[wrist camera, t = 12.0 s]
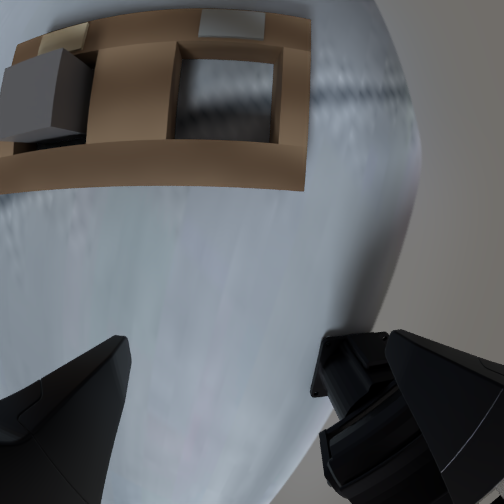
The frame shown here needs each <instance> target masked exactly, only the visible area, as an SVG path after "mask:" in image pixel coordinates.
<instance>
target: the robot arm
mask: <svg viewBox="0 0 504 504" xmlns="http://www.w3.org/2000/svg"><path fill="white" fill-rule="evenodd" d="M383 337H384V338H383ZM329 342H330V343H329ZM327 343H329V344H328V345H326V344H327ZM130 369H131V353H130V348H129V342H128V339H127V337H126V336H119V335H114V336H112V337H111V338H109V339H107V340H106V341H104V342H102V343H101V344H99V345H97V346H96V347H94V348H92V349H90V350H89V351H87V352H85V353H84V354H82V355H80V356H79V357H77V358H75V359H73V360H72V361H70V362H68V363H67V364H65V365H63V366H62V367H60V368H58V369H57V370H55V371H53V372H51V373H50V374H48V375H46V376H45V377H43V378H41V380H38V381H36V382H34V383H33V384H31V385H29V386H27V387H26V388H24V389H22V390H20V391H18V392H16V393H14V394H12V395H10V396H8V397H6V398H4V399H2V400H0V504H101V499H102V494H103V489H104V484H105V479H106V475H107V470H108V466H109V461H110V457H111V453H112V449H113V445H114V441H115V437H116V433H117V429H118V426H119V422H120V418H121V415H122V411H123V407H124V403H125V398H126V392H127V386H128V380H129V374H130ZM315 392H316V393H315ZM310 394H311V396H312V397H314V398H316V397H323V396H328V397H329V399H330V401H331V403H332V405H333V407H334V409H335V411H336V414H337V416H338V418H339V420H340V421H339V422H337V423H336V424H334V425H333V426H332V427H330V428H328V429H327V430H326V429H325V430H323V431H322V432H320V433H319V437H320V447H321V454H322V461H323V468H324V476H325V478H326V479H327V483H328V485H329V486H330V487H333V488H334V490H335V491H336V492H337V493H338V494H339V495H341V496H342V497H344V498H347V499H348V500H349V501H350V502H351V503H352V504H479V502H480V501H482V500H483V499H484V498H485V497H487V496H488V495H489V494H490V493H491V492H493V491H494V490H495V489H497V491H498V492H499V494H500V496H499V497H498V498H496V499H495V500H494V501H493V502H492V503H491V504H504V365H502V364H498V363H495V362H492V361H489V360H486V359H483V358H480V357H477V356H474V355H471V354H468V353H466V352H463V351H460V350H457V349H454V348H452V347H449V346H446V345H443V344H440V343H438V342H435V341H432V340H429V339H426V338H424V337H421V336H418V335H415V334H413V333H410V332H407V331H405V330H402V329H400V330H393V331H392V332H391V333H390V335H389V334H388V333H387V332H378V333H374V332H371V333H362V334H352V335H348V336H338V337H327V338H325V339H323V340H322V342H321V346H320V351H319V356H318V360H317V364H316V369H315V373H314V377H313V381H312V385H311V390H310Z"/></svg>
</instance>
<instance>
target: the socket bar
mask: <svg viewBox="0 0 504 504" xmlns="http://www.w3.org/2000/svg"><path fill="white" fill-rule="evenodd" d="M60 48H64V49H66V50H67V51H69V52H70V53H71V54H73V55H74V56H75V57H77V58H78V59H79V60H81V61H82V62H84V63H85V64H86V65H88V66H89V67H90V68H95V72H94V78H93V84H92V91H91V98H90V106H89V114H88V124H87V136H86V144H82V145H73V146H65V147H57V148H50V149H44V150H37V143H24V142H6V141H0V194H9V193H19V192H29V191H40V190H53V189H68V188H86V187H110V186H215V187H241V188H260V189H276V190H290V191H303V192H304V185H305V172H306V157H307V141H308V122H309V99H310V64H311V20H310V19H305V18H300V17H294V16H289V15H282V14H276V13H268V12H260V11H250V10H237V9H215V8H190V9H168V10H156V11H146V12H138V13H131V14H124V15H118V16H112V17H107V18H102V19H98V20H93V21H89V22H85V23H81V24H77V25H73V26H70V27H66V28H63V29H59V30H56V31H53V32H50V33H47V34H44V35H41V36H39V37H36V38H33V39H31V40H28V41H25V42H23V43H20V44H18V45H17V47H16V51H15V54H14V58H13V62H12V66H13V65H15V64H18V63H20V62H23V61H25V60H28V59H30V58H33V57H36V56H39V55H41V54H44V53H47V52H50V51H53V50H57V49H60ZM182 59H218V60H237V61H250V62H261V63H270V64H274V68H273V86H272V104H271V121H270V138H269V143H261V142H248V141H230V140H200V139H175V125H176V113H177V102H178V92H179V83H180V74H181V66H182Z"/></svg>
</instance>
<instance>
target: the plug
mask: <svg viewBox="0 0 504 504" xmlns="http://www.w3.org/2000/svg"><path fill="white" fill-rule="evenodd" d="M94 72H95V71H94V70H93V69H92V68H90V67H89V66H88V65H86V64H85V63H84V62H82V61H81V60H79V59H78V58H77V57H75V56H74V55H73V54H71V53H70V52H69V51H67V50H66V49H64V48H60V49H57V50H53V51H50V52H47V53H44V54H41V55H39V56H36V57H33V58H30V59H28V60H25V61H23V62H20V63H18V64H15V65H13V66H11V67H8V68H6V69H5V72H4V77H3V82H2V87H1V92H0V141H6V142H24V143H38V144H49V143H55V142H61V141H67V140H73V139H80V138H86V136H87V124H88V114H89V106H90V98H91V91H92V84H93V78H94Z"/></svg>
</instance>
